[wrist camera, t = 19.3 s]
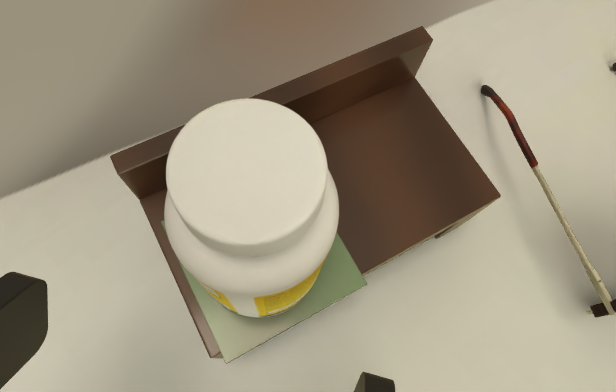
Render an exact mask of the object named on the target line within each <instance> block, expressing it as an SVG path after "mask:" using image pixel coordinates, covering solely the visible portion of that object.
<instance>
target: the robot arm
mask: <svg viewBox="0 0 616 392" xmlns="http://www.w3.org/2000/svg"><path fill="white" fill-rule="evenodd" d="M47 330H48V302H47V284H46V282H45V281H44V280H41V279H38V278H34V277H31V276H27V275H23V274H20V273H16V272H9V273H7V274H5V275H4V276H2V277H1V278H0V389H1V388H2V387H3V386H4V385H5V384H6V383H7V382H8V381H9V380H10V379H11V378H12V377H13V376H14V375H15V374H16V373H17V372H18V371H19V370H20V369H21V368H22V367H23V366H24V365H25V364H26V363H27V362H28V361H29V360H30V359H31V358H32V357H33V356H34V355H35V353H36V352H37V351H38V350H39V348H40V347H41V345H42V344H43V342H44V340H45V337H46V334H47ZM354 392H395V384H394V381H393V380H391V379H387V378H384V377H380V376H376V375H373V374H369V373H366V372H362V374H361V375H360V378H359V380H358V383H357V385H356V388H355V390H354Z"/></svg>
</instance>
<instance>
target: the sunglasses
mask: <svg viewBox="0 0 616 392" xmlns="http://www.w3.org/2000/svg"><path fill="white" fill-rule="evenodd" d="M612 70H613V71H616V63H614V64H613V68H612ZM481 93H482V94H483V95H485V96H488V97H490V98H491V99H492V100H493V101H494V103H495V104H496V105H497V106H498V108H499V109H500V110H501V111H502V113H503V114H504V115H505V117H506V119H507V121H508V123H509V125H510V127H511V130H512V132H513V134H514V136H515V138H516V140H517V142H518V144H519V146H520V148H521V150H522V152H523V154H524V156H525V158H526V159H527V161H528V163H529V165H530V167H531V168H532V170H533V172H534V173H535V175H536V177H537V178H538V180H539V182H540V184H541V186H542V188H543V190H544V192H545V194H546V195H547V197H548V199H549V201H550V203H551V205H552V207H553V209H554V211H555V212H556V214H557V216H558V218H559V220H560V222H561V224H562V226H563V228H564V229H565V231H566V233H567V235H568V237H569V239H570V241H571V242H572V244H573V246H574V248H575V250H576V252H577V253H578V255H579V257H580V259H581V261H582V263H583V265H584V267H585V269H586V272H587V274H588V276H589V278H590V280H591V281H592V283H593V285H594V287H595V289H596V291H597V292H598V294H599V296H600V298H601V300H602V302H603V303H600V304H596V305H593V306H590V308H591V311H587V314H591V313H593V314H594V316H595V317H600V316H605V315H609V314H610V315H614V314H616V299H614V300H612V298H611V296H610V295H609V293H608V291H607V289H606V287H605V285H604V284H603V282H602V280H601V278H600V276H599V275H598V273H597V271H596V269H594V268H592V266H591V264H590V262H589V261H588V259H587V257H586V255H585V253H584V251H583V250H582V248H581V246H580V244H579V242H578V241H577V239H576V237H575V235H574V233H573V232H572V230H571V228H570V226H569V224H568V222H567V221H566V219H565V217H564V215H563V213H562V211H561V209H560V207H559V205H558V204H557V202H556V200H555V198H554V196H553V194H552V192H551V190H550V188H549V186H548V185H547V183H546V181H545V179H544V177H543V175H542V174H541V172H540V170H539V168H538V166H537V165H538V162H537V160H536V158H535V156H534V155H533V153H532V151H531V149H530V147H529V145H528V143H527V142H526V140H525V138H524V136H523V134H522V132H521V130H520V128H519V126H518V123H517V121H516V119H515V117H514V115H513V113H512V112H511V110H510V109H509V108H508V107H507V105H506V104H505V103H504V102H503V101H502V99H501V98H500V97H499V96H498V95H497V94H496V93H495V92H494V90H493V89H492V88H490V87H489V86H487V85H483V86H482V88H481Z"/></svg>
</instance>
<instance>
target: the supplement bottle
mask: <svg viewBox="0 0 616 392" xmlns="http://www.w3.org/2000/svg"><path fill="white" fill-rule="evenodd" d="M166 183H167V188H168V191H167V195H166V200H165V209H164V219H165V228H166V232H167V236H168V239H169V241H170V244H171V246H172V249H173V250H174V252H175V254H176V256H177V257H178V259H179V260H180V262H181V263H182V264H183V266H184V267H185V268H186V269H187V270H188V271H189V273H190V274H192V275H193V277H194V278H195V279H196V280H197V281H198V282H199V283H200V284H201V285H202V286H203V287H204V288H205V289H206V290H207V292H208V293H209V294H210V295H211V296H212V297H213V298H214V299H215V300H216V301H217V302H219V303H220V304H221V305H222V306H224V307H225V308H227V309H229V310H230V311H233V312H235V313H237V314H240V315H244V316H248V317H269V316H274V315H277V314H280V313H283V312H285V311H287V310H289V309H290V308H292V307H294V306H295V305H296V304H298V303H299V302H300V301H301V300H302V299H303V298H304V297H305V296H306V295H307V294H308V292H309V291H310V289H311V288H312V286H313V284H314V283H315V281H316V279H317V277H318V274H319V272H320V269H321V267H322V265H323V263H324V261H325V259H326V257H327V255H328V253H329V251H330V249H331V247H332V244H333V241H334V239H335V235H336V231H337V226H338V220H339V200H338V193H337V189H336V186H335V183H334V180H333V178H332V176H331V174H330V172H329V170H328V165H327V159H326V154H325V151H324V148H323V145H322V143H321V141H320V139H319V137H318V135H317V134H316V132H315V131H314V129H313V128H312V127H311V126H310V125H309V124H308V123H307V122H306V121H305V120H304V119H303V118H302V117H301V116H299V115H298V114H297V113H295V112H294V111H292V110H290V109H288V108H286V107H284V106H282V105H280V104H277V103H274V102H271V101H267V100H261V99H235V100H230V101H226V102H222V103H219V104H216V105H213V106H211V107H209V108H207V109H205V110H203V111H202V112H200V113H199V114H197V115H196V116H195V117H193V118H192V119H191V120H190V121H189V122H188V123H187V124H186V125H185V126H184V127H183V128H182V130H181V131H180V132H179V134H178V135H177V137H176V138H175V140H174V142H173V144H172V146H171V148H170V152H169V155H168V159H167V164H166Z"/></svg>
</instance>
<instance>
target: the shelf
mask: <svg viewBox="0 0 616 392" xmlns="http://www.w3.org/2000/svg"><path fill="white" fill-rule="evenodd" d="M432 41H433V39H432V38H431V36H430V35H429V34H428V33H427V31H426V30H425V29H424V27H423V26H421V27H419V28H416V29H414V30H411V31H409V32H406V33H404V34H402V35H399V36H397V37H394V38H392V39H390V40H388V41H385V42H383V43H380V44H378V45H375V46H373V47H371V48H368V49H366V50H363V51H361V52H358V53H356V54H354V55H351V56H349V57H346V58H344V59H342V60H339V61H337V62H334V63H332V64H330V65H327V66H325V67H322V68H320V69H318V70H315V71H313V72H310V73H308V74H306V75H303V76H301V77H298V78H296V79H294V80H291V81H289V82H286V83H284V84H282V85H279V86H277V87H274V88H272V89H270V90H267V91H265V92H262V93H260V94H258V95H255V96H253V97H250V98H248V99H261V100H267V101H271V102H274V103H277V104H280V105H282V106H284V107H286V108H288V109H290V110H292V111H294V112H295V113H297V114H298V115H299V116H301V117H302V118H303V119H304V120H305V121H306V122H307V123H308V124H309V125H310V126H311V127H312V128H313V129H314V131H315V132H316V134H317V135H318V137H319V139H320V141H321V143H322V145H323V148H324V151H325V154H326V159H327V165H328V170H329V172H330V174H331V176H332V178H333V180H334V183H335V186H336V189H337V193H338V200H339V220H338V226H337V231H336V235H335V239H334V241H333V244H332V247H331V249H330V251H329V253H328V255H327V257H326V259H325V261H324V263H323V265H322V267H321V269H320V272H319V274H318V277H317V279H316V281H315V283H314V284H313V286H312V288H311V289H310V291H309V292H308V294H307V295H306V296H305V297H304V298H303V299H302V300H301V301H300V302H299V303H298V304H296V305H295V306H294V307H292V308H290V309H289V310H287V311H285V312H283V313H280V314H277V315H274V316H269V317H248V316H244V315H240V314H237V313H235V312H233V311H230V310H229V309H227V308H225V307H224V306H222V305H221V304H220V303H219V302H217V301H216V300H215V299H214V298H213V297H212V296H211V295H210V294H209V293H208V292H207V290H206V289H205V288H204V287H203V286H202V285H201V284H200V283H199V282H198V281H197V280H196V279H195V278H194V277H193V275H192V274H190V273H189V271H188V270H187V269H186V268H185V267H184V266H183V264H182V263H181V262H180V260H179V259H178V257H177V256H176V254H175V252H174V250H173V249H172V246H171V244H170V241H169V239H168V236H167V232H166V228H165V219H164V209H165V200H166V195H167V191H168V188H167V183H166V164H167V159H168V155H169V152H170V148H171V146H172V144H173V142H174V140H175V138H176V137H177V135H178V134H179V132H180V131H181V130H182V128H183V127H184V126H185V125H183V126H181V127H178V128H176V129H174V130H171V131H169V132H166V133H164V134H162V135H159V136H157V137H154V138H152V139H149V140H147V141H145V142H142V143H140V144H137V145H135V146H133V147H130V148H128V149H125V150H123V151H121V152H118V153H116V154H113V155H111V156H110V158H111V160H112V162H113V164H114V167H115V169H116V171H117V174H118V175H119V176H120V178H121V179H122V180H123V181H124V182H125V183H126V185H127V186H128V187H129V188H130V189H131V191H132V192H133V193H134V194H135V195H136V197H137V198H138V199H139V200H140V202H141V205H142V207H143V209H144V211H145V214H146V216H147V218H148V220H149V222H150V225H151V227H152V229H153V231H154V234H155V236H156V238H157V240H158V243H159V245H160V247H161V249H162V251H163V254H164V256H165V258H166V260H167V263H168V265H169V267H170V269H171V271H172V274H173V276H174V278H175V280H176V283H177V285H178V287H179V289H180V292H181V294H182V296H183V298H184V300H185V303H186V305H187V307H188V309H189V312H190V314H191V316H192V318H193V321H194V323H195V325H196V327H197V329H198V332H199V334H200V336H201V338H202V341H203V343H204V345H205V347H206V350H207V352H208V354H209V356H210V358H223V359H224V361H225V363H226V364H227V363H229V362H231V361H232V360H234V359H236V358H238V357H239V356H241V355H243V354H245V353H246V352H248V351H250V350H252V349H253V348H255V347H257V346H259V345H261V344H262V343H264V342H266V341H268V340H269V339H271V338H273V337H275V336H276V335H278V334H280V333H282V332H283V331H285V330H287V329H289V328H290V327H292V326H294V325H296V324H298V323H299V322H301V321H303V320H305V319H306V318H308V317H310V316H312V315H313V314H315V313H317V312H319V311H320V310H322V309H324V308H326V307H328V306H329V305H331V304H333V303H335V302H336V301H338V300H340V299H342V298H343V297H345V296H347V295H349V294H350V293H352V292H354V291H356V290H357V289H359V288H361V287H363V286H365V285H366V284H367V283H366V281H365V279H364V278H363V276H364V275H365V274H367V273H369V272H371V271H373V270H374V269H376V268H378V267H380V266H381V265H383V264H385V263H387V262H389V261H390V260H392V259H394V258H396V257H398V256H399V255H401V254H403V253H405V252H406V251H408V250H410V249H412V248H414V247H415V246H417V245H419V244H421V243H423V242H424V241H426V240H428V239H430V238H431V237H433V236H435V238H436V239H437V238H439V237H441V236H443V235H444V234H446V233H448V232H450V231H451V230H453V229H455V228H457V227H459V226H460V225H462V224H463V223H465V222H466V221H468V220H469V219H470V218H472V217H473V216H475V215H476V214H477V213H479V212H480V211H482V210H483V209H484V208H486V207H487V206H488V205H490V204H491V203H493V202H494V201H495V200H497V199H498V198H500V196H501V195H500V193H499V192H498V191H497V189H496V188H495V187H494V185H493V184H492V182H491V181H490V180H489V178H488V177H487V176H486V174H485V173H484V172H483V170H482V169H481V167H480V166H479V165H478V163H477V162H476V161H475V159H474V158H473V156H472V155H471V154H470V152H469V151H468V150H467V148H466V147H465V146H464V144H463V143H462V141H461V140H460V139H459V137H458V136H457V135H456V133H455V132H454V130H453V129H452V128H451V126H450V125H449V124H448V122H447V121H446V120H445V118H444V117H443V115H442V114H441V113H440V111H439V110H438V109H437V107H436V106H435V104H434V103H433V102H432V100H431V99H430V98H429V96H428V95H427V94H426V92H425V91H424V89H423V88H422V87H421V85H420V84H419V83H418V81H417V80H416V78H415V75H416V73H417V71H418V69H419V67H420V65H421V63H422V61H423V59H424V57H425V55H426V53H427V51H428V49H429V47H430V45H431V43H432Z"/></svg>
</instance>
